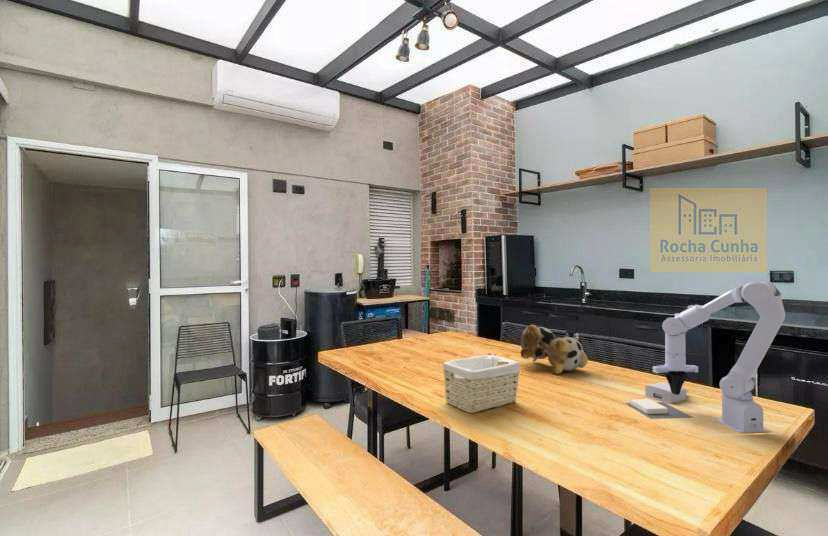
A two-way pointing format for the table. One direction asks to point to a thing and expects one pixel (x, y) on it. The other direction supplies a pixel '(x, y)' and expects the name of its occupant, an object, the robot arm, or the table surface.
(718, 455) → the table surface
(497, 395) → the object
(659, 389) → the charger
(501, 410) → the table surface
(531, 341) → the toy
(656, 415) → the mat
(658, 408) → the tile
